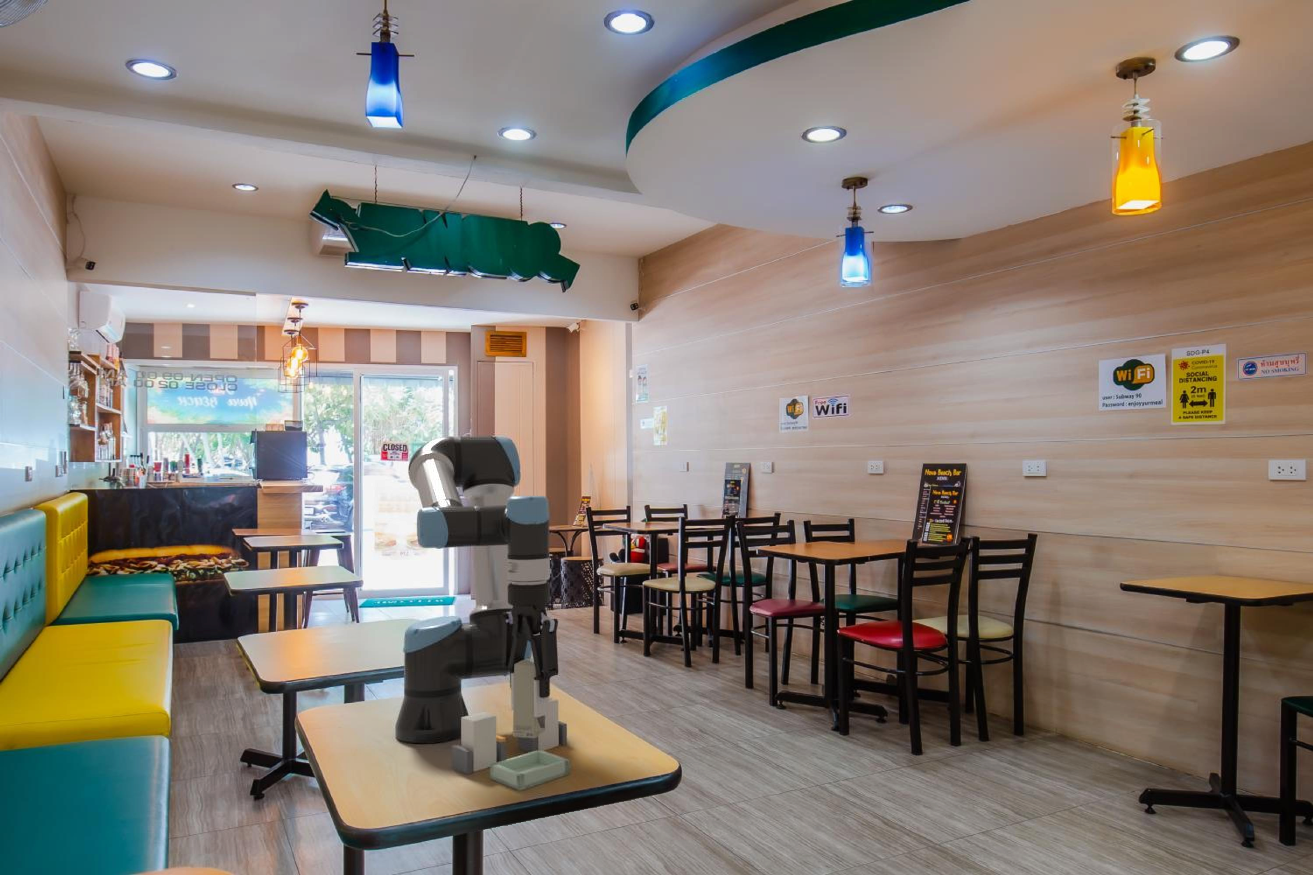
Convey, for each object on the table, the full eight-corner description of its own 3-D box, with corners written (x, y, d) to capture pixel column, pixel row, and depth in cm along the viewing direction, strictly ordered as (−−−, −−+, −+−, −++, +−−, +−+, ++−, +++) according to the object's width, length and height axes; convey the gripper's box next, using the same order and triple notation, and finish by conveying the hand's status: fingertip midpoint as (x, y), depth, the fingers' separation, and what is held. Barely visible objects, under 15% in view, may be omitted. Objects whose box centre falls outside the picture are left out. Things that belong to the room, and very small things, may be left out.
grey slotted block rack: (451, 767, 161) (451, 742, 161) (551, 738, 178) (550, 715, 178) (467, 774, 158) (467, 748, 158) (566, 743, 174) (566, 720, 174)
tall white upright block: (461, 766, 162) (461, 717, 162) (484, 759, 166) (483, 711, 166) (473, 771, 159) (473, 721, 159) (496, 764, 163) (496, 715, 163)
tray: (490, 778, 155) (490, 764, 155) (539, 762, 163) (539, 749, 163) (519, 790, 149) (519, 775, 149) (569, 773, 157) (569, 759, 157)
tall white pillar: (525, 747, 173) (525, 701, 173) (546, 741, 176) (545, 696, 176) (538, 751, 170) (538, 704, 170) (558, 745, 173) (558, 699, 174)
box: (535, 739, 153) (536, 665, 154) (511, 737, 154) (513, 663, 155) (545, 730, 158) (547, 659, 159) (523, 728, 159) (524, 657, 160)
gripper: (480, 579, 161) (481, 706, 160) (545, 588, 148) (546, 726, 147) (514, 575, 167) (515, 698, 166) (578, 583, 153) (580, 717, 153)
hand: (529, 711), depth 156 cm, fingers closed on box, 6 cm apart
